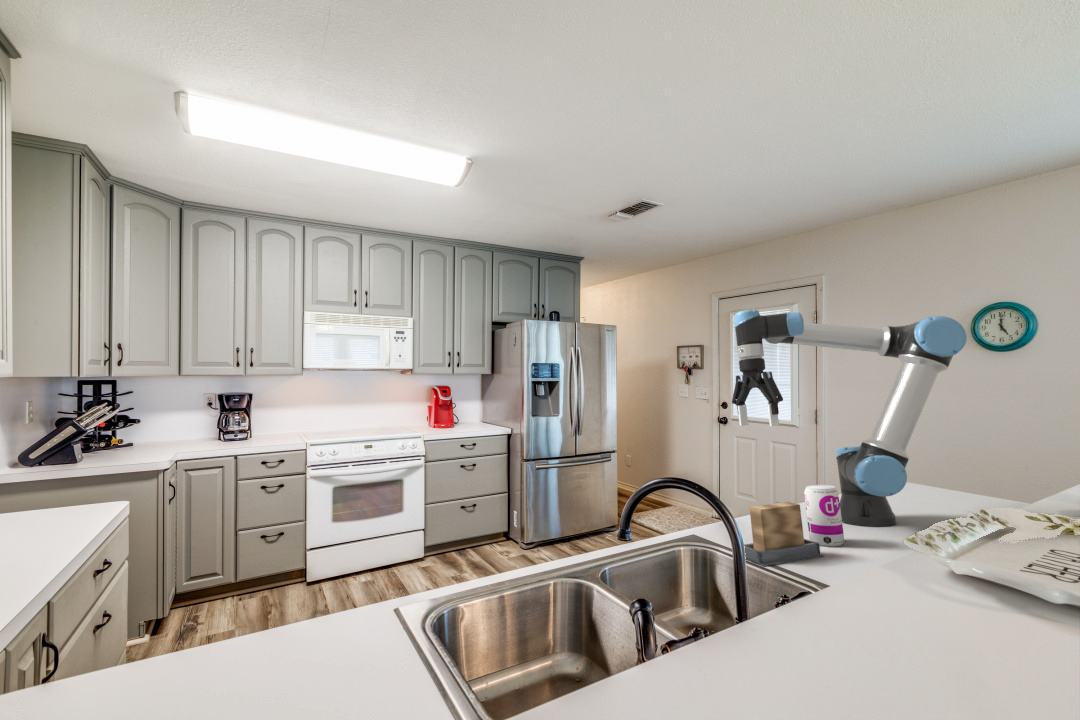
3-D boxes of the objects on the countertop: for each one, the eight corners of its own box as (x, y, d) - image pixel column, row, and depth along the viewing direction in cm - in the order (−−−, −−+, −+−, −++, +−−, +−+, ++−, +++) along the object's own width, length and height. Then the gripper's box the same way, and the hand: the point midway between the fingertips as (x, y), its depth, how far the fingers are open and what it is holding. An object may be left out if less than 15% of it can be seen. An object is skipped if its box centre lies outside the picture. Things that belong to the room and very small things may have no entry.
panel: (793, 549, 123) (787, 502, 125) (805, 553, 119) (799, 504, 121) (754, 555, 120) (749, 506, 122) (765, 559, 116) (760, 509, 118)
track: (795, 547, 126) (794, 535, 127) (823, 556, 118) (822, 543, 118) (738, 556, 122) (737, 544, 122) (763, 566, 113) (761, 553, 113)
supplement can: (851, 546, 124) (844, 488, 126) (820, 548, 125) (813, 489, 126) (833, 538, 133) (826, 483, 134) (803, 539, 133) (797, 485, 134)
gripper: (717, 363, 162) (723, 426, 160) (769, 353, 138) (778, 426, 136) (735, 363, 164) (742, 424, 162) (790, 353, 140) (799, 425, 138)
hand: (758, 425), depth 149 cm, fingers open, 13 cm apart
